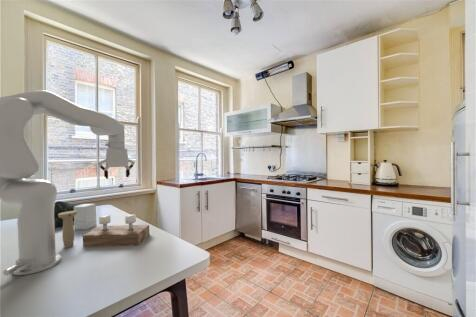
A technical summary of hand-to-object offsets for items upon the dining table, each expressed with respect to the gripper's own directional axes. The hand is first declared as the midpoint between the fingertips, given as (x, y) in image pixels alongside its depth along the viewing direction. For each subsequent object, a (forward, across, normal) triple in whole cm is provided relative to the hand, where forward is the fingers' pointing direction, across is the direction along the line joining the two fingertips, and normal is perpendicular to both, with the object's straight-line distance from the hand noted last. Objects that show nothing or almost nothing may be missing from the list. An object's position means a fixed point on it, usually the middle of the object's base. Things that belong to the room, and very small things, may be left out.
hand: (117, 177), depth 109 cm
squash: (+28, -23, +33) cm, 49 cm away
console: (+28, -3, -16) cm, 33 cm away
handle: (+28, -21, -8) cm, 36 cm away
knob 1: (+24, -8, -13) cm, 28 cm away
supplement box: (+28, -13, +17) cm, 35 cm away
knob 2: (+24, +2, -20) cm, 32 cm away
